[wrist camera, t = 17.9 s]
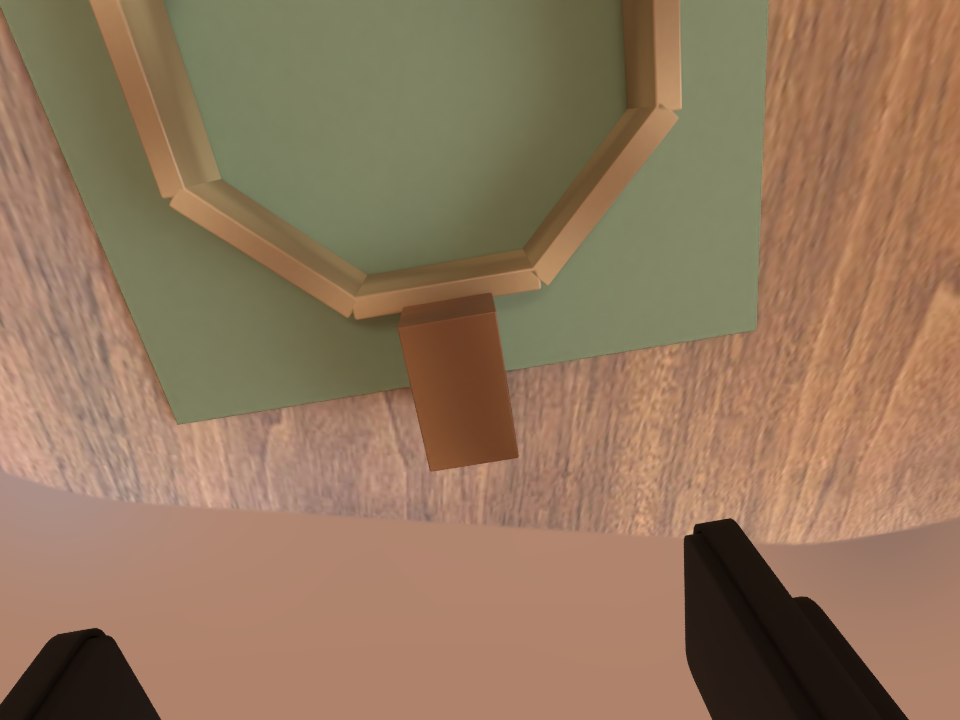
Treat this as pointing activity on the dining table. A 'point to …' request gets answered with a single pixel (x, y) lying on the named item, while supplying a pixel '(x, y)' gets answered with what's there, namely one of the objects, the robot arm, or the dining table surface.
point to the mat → (411, 178)
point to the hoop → (413, 291)
